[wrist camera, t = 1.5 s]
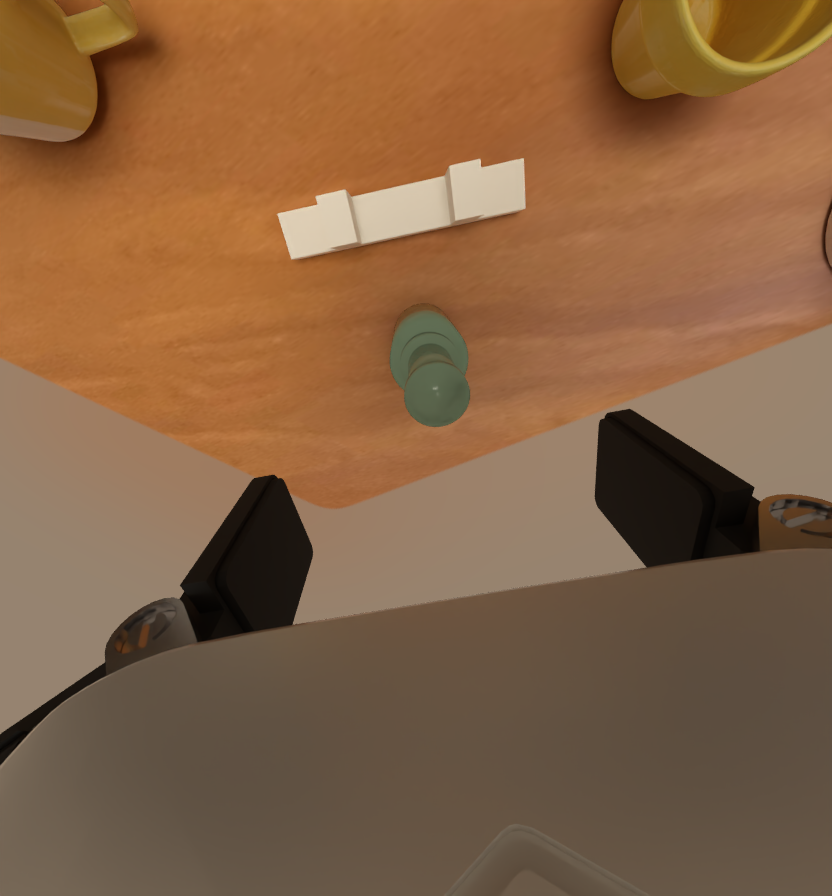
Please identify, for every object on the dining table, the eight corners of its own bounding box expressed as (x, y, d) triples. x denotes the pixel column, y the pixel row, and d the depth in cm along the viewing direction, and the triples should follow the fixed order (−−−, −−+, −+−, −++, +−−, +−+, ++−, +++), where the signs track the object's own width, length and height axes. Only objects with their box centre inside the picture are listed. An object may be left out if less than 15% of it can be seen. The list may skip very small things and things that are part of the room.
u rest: (515, 165, 27) (537, 145, 22) (517, 212, 28) (538, 202, 24) (286, 217, 28) (262, 208, 23) (299, 259, 29) (279, 259, 25)
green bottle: (446, 298, 31) (485, 332, 16) (454, 357, 33) (494, 434, 18) (388, 310, 31) (372, 354, 16) (400, 367, 34) (396, 452, 19)
